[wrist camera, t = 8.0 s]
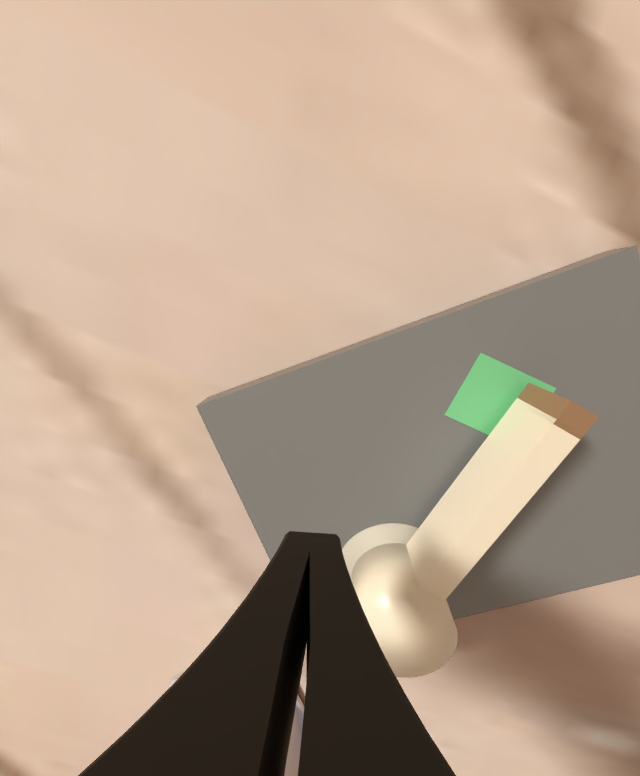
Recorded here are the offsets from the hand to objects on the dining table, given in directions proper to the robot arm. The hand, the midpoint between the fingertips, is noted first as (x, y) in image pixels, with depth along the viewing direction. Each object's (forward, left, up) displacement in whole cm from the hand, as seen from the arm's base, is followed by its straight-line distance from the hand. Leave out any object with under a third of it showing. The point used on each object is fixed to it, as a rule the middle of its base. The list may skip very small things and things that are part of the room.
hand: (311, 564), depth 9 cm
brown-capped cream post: (-5, -4, -7) cm, 10 cm away
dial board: (-4, -5, -9) cm, 11 cm away
